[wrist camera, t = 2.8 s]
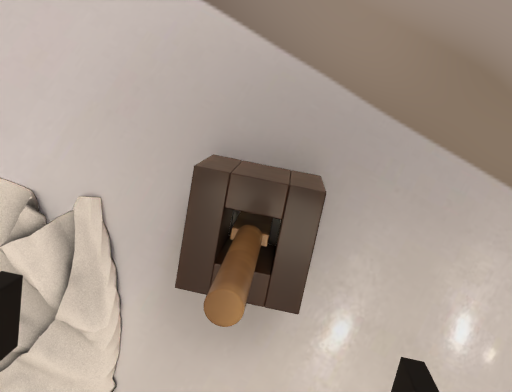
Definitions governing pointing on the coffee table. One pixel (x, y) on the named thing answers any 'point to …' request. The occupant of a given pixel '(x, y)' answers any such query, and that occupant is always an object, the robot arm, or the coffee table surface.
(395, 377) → the robot arm
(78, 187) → the coffee table surface
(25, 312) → the cloth
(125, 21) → the coffee table surface
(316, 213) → the holder
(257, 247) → the stick
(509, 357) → the coffee table surface
